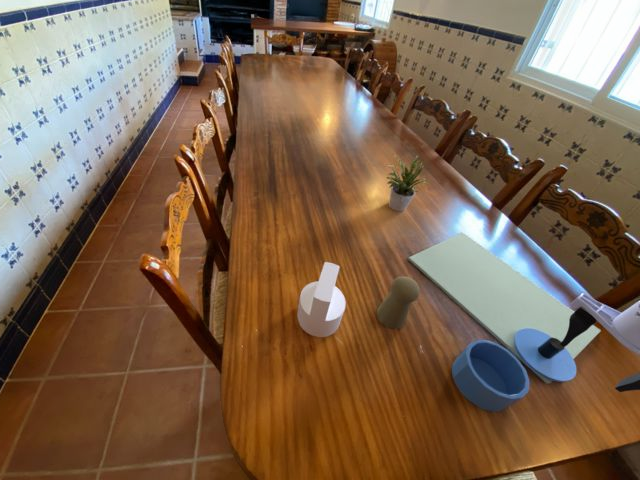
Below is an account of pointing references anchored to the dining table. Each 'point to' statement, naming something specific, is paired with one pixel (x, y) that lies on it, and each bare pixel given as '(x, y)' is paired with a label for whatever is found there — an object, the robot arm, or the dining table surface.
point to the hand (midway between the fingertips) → (590, 363)
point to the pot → (490, 376)
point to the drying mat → (497, 294)
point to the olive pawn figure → (398, 302)
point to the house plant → (403, 185)
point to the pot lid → (545, 355)
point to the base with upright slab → (322, 304)
